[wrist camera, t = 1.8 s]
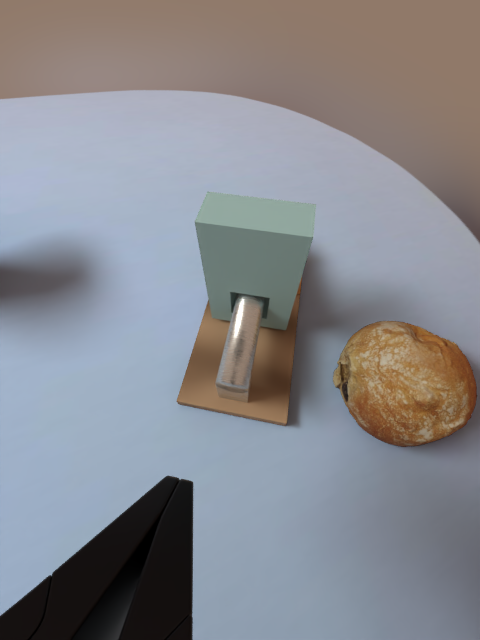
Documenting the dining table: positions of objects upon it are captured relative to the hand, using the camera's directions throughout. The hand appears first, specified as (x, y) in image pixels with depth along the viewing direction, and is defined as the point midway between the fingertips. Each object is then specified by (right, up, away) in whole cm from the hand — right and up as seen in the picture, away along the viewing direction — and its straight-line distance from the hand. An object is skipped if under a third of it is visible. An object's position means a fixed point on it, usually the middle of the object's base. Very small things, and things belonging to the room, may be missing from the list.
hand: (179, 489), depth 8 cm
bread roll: (+15, -1, +16) cm, 22 cm away
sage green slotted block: (+3, +6, +18) cm, 19 cm away
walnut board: (+3, +5, +19) cm, 20 cm away
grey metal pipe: (+3, +6, +18) cm, 20 cm away
